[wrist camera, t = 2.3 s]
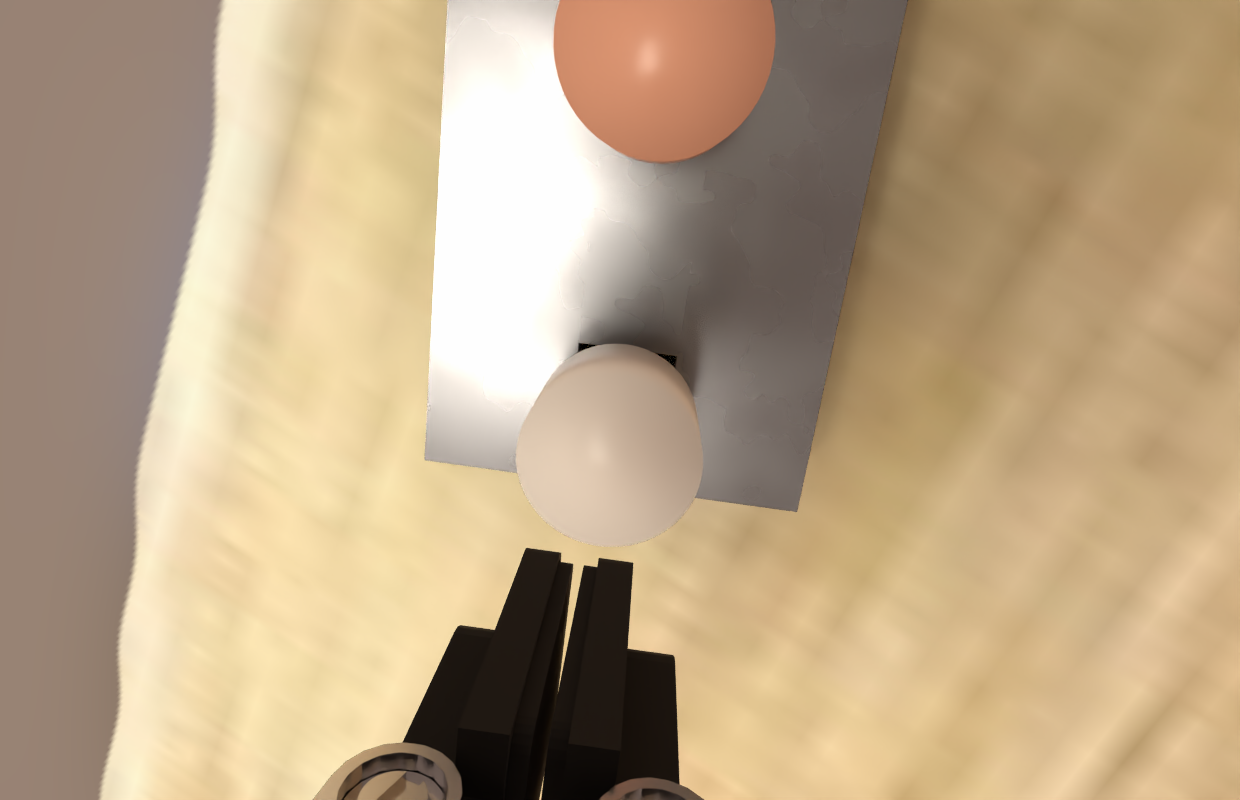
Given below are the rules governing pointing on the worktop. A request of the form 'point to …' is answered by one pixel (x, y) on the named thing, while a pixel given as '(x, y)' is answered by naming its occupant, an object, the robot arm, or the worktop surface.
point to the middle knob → (663, 70)
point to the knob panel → (651, 240)
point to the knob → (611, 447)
